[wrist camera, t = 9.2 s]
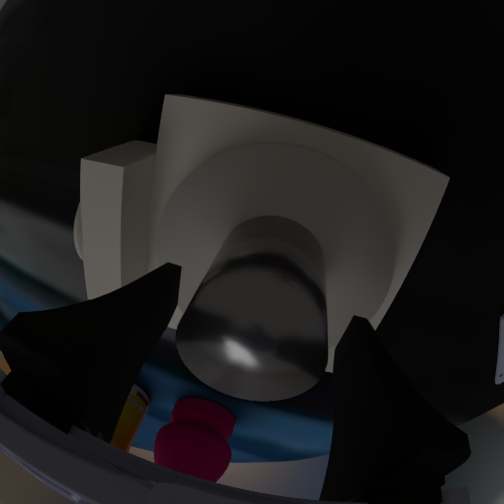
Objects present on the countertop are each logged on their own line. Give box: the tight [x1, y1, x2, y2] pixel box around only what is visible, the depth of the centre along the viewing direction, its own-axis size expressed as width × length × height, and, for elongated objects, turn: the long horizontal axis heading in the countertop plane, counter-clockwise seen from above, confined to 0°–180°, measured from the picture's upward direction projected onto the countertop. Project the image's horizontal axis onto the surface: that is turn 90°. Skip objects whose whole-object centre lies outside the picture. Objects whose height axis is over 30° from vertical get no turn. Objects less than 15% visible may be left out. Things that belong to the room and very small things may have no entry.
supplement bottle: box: [110, 383, 150, 452], centre depth 24 cm, size 6×6×10 cm
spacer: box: [176, 215, 328, 401], centre depth 12 cm, size 5×5×6 cm
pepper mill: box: [154, 397, 235, 483], centre depth 19 cm, size 7×7×20 cm
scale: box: [74, 94, 450, 373], centre depth 15 cm, size 17×14×5 cm
